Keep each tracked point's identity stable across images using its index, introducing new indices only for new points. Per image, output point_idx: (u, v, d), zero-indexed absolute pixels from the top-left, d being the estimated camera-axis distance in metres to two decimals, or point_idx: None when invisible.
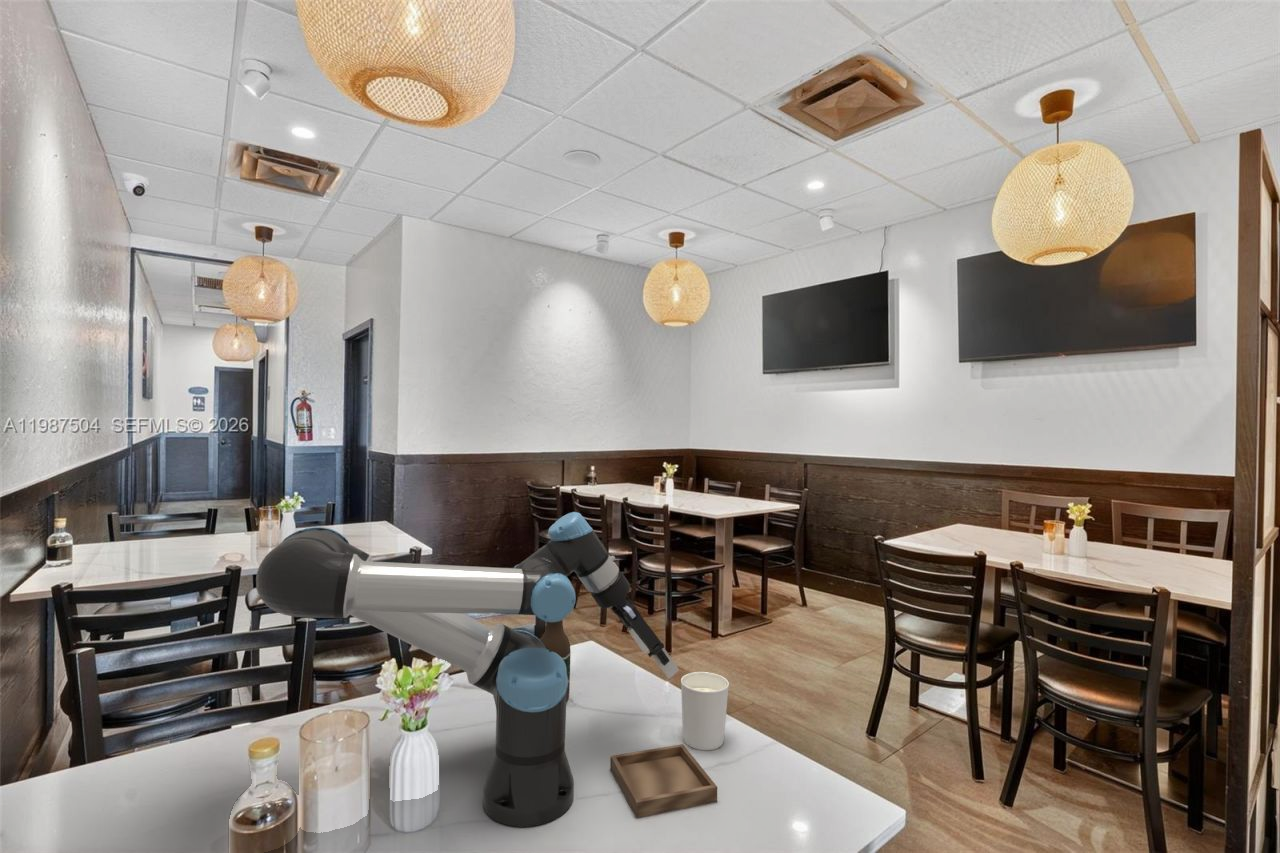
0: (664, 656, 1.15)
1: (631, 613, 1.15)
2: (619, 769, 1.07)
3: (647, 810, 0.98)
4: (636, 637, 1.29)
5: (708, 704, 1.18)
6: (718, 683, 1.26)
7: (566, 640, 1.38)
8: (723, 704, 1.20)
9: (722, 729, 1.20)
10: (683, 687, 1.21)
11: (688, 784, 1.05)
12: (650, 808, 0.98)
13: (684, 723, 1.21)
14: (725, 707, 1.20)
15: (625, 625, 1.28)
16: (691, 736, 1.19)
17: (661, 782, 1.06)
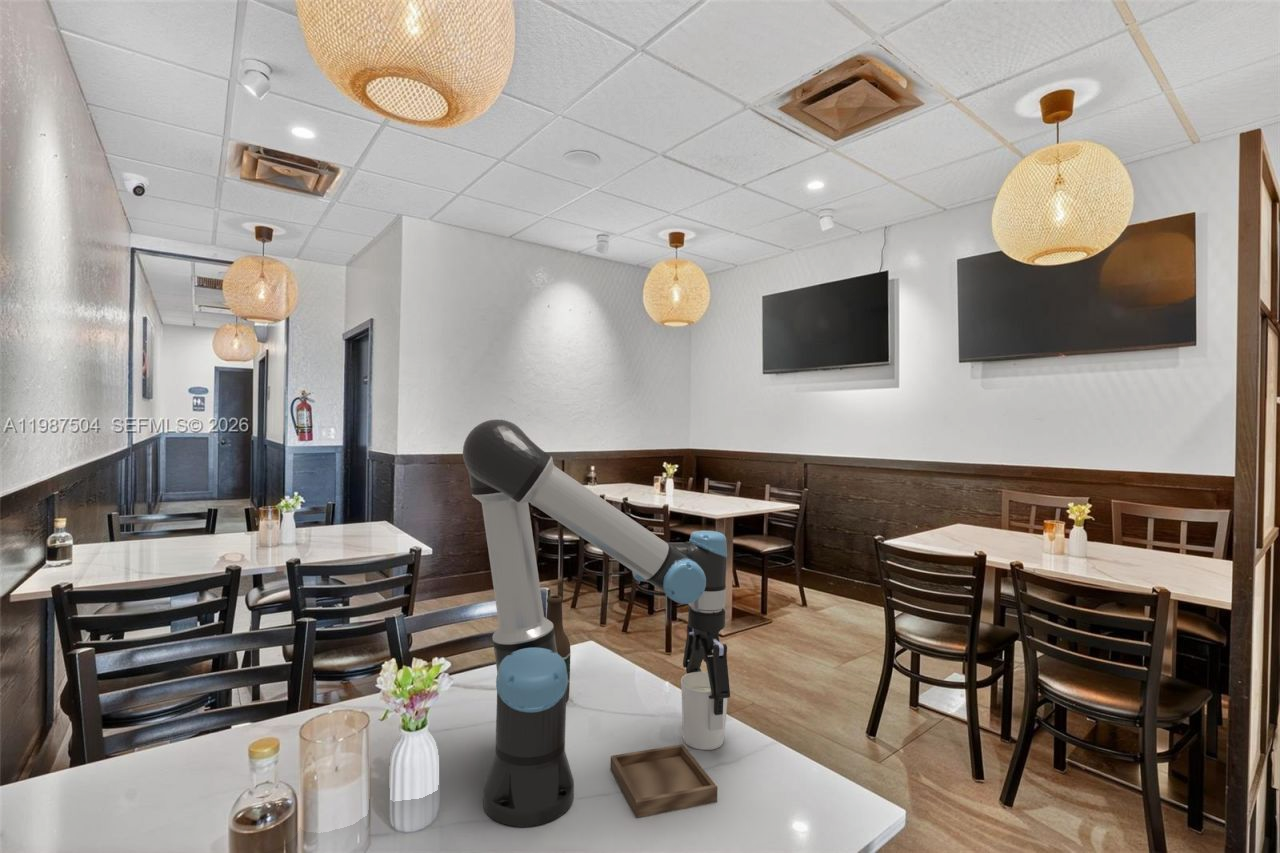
0: (721, 707, 1.16)
1: (721, 650, 1.16)
2: (619, 769, 1.07)
3: (647, 810, 0.98)
4: None
5: (708, 704, 1.18)
6: None
7: (566, 640, 1.38)
8: (723, 704, 1.20)
9: (723, 729, 1.20)
10: (683, 687, 1.21)
11: (688, 784, 1.05)
12: (650, 808, 0.98)
13: (684, 723, 1.21)
14: (725, 707, 1.20)
15: (689, 668, 1.27)
16: (691, 736, 1.19)
17: (661, 782, 1.06)
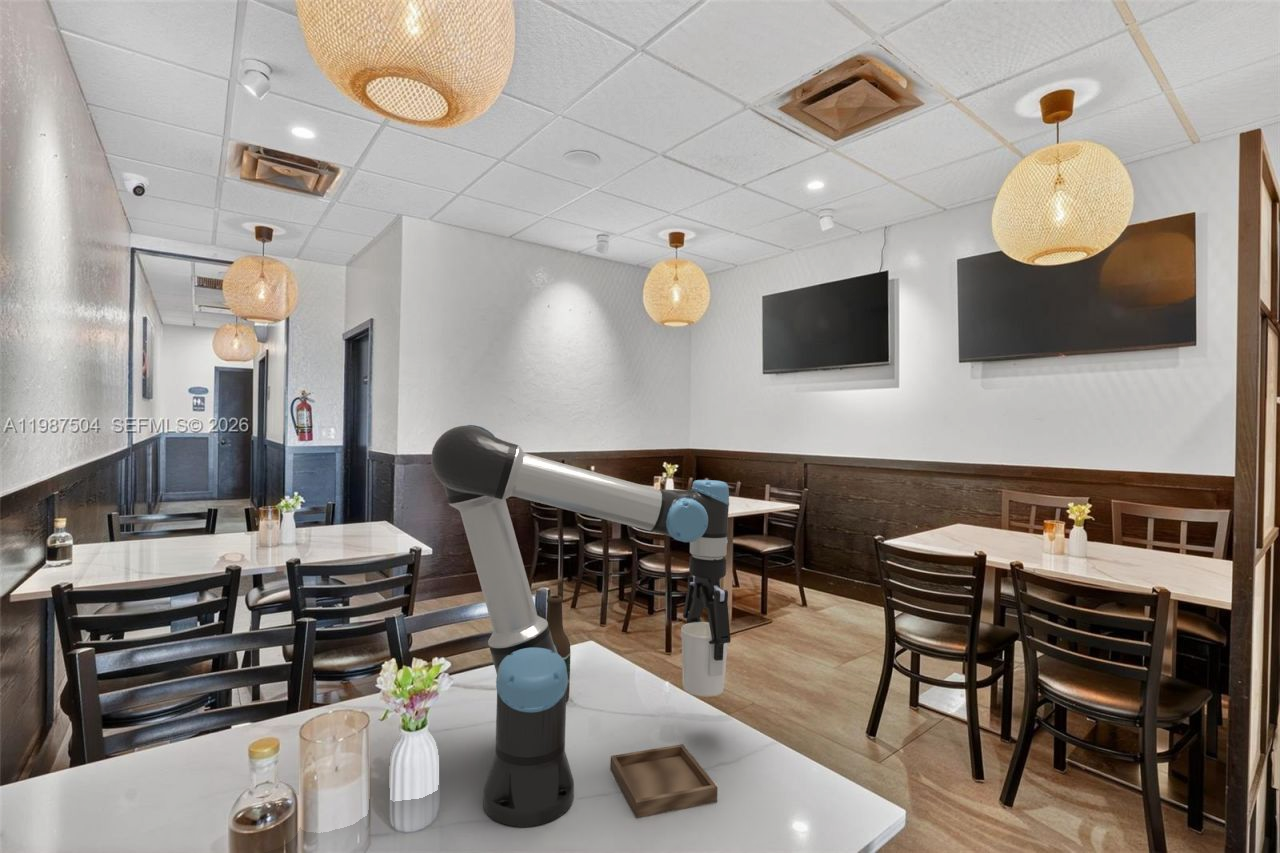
0: (721, 652, 1.16)
1: (722, 595, 1.16)
2: (619, 769, 1.07)
3: (647, 810, 0.98)
4: None
5: (708, 650, 1.18)
6: None
7: (566, 640, 1.38)
8: (723, 651, 1.20)
9: (722, 676, 1.20)
10: (683, 634, 1.21)
11: (688, 784, 1.05)
12: (650, 808, 0.98)
13: (684, 670, 1.21)
14: (725, 654, 1.21)
15: (689, 618, 1.27)
16: (691, 682, 1.19)
17: (661, 782, 1.06)
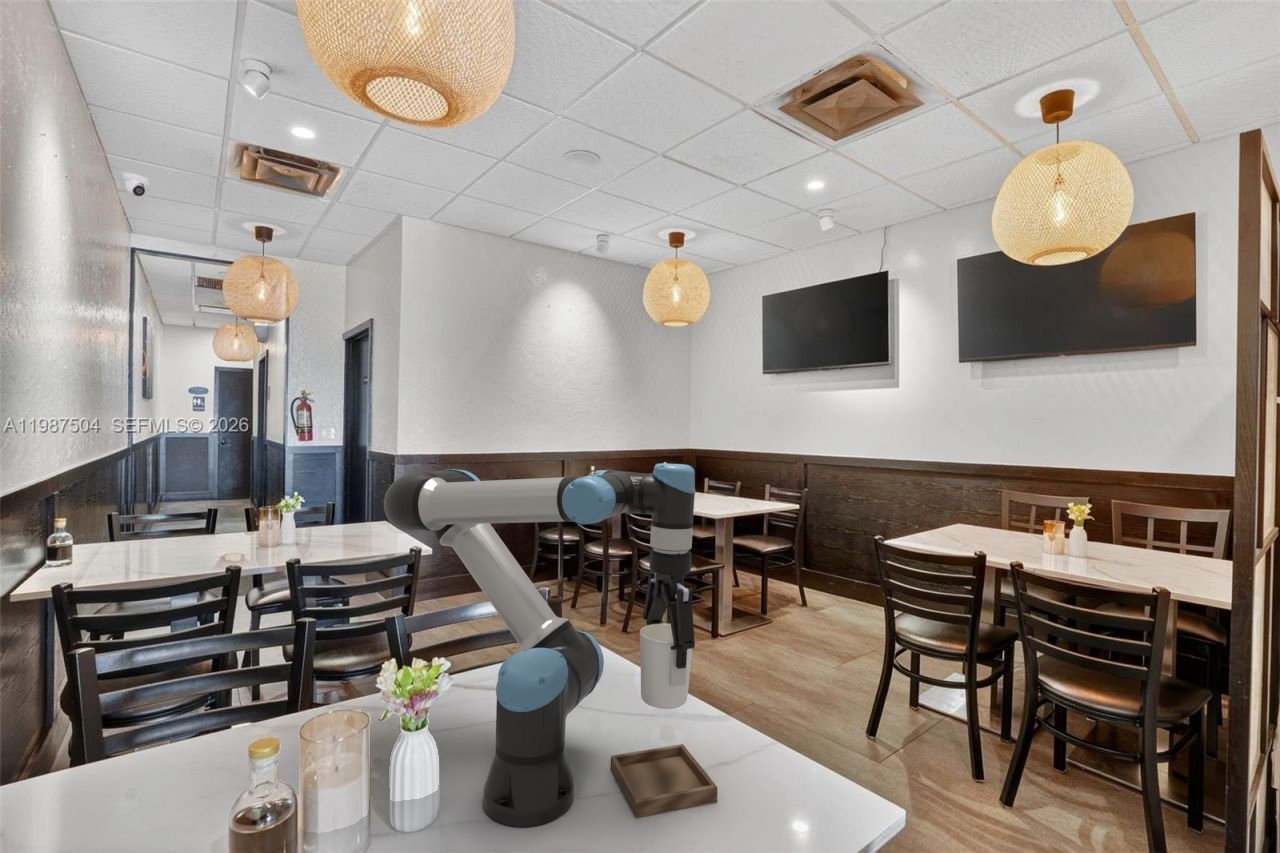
0: (684, 659, 1.02)
1: (686, 595, 1.02)
2: (619, 769, 1.07)
3: (647, 810, 0.98)
4: None
5: (670, 656, 1.04)
6: None
7: None
8: (687, 657, 1.05)
9: (686, 685, 1.06)
10: (642, 638, 1.06)
11: (688, 784, 1.05)
12: (650, 808, 0.98)
13: (642, 679, 1.06)
14: (689, 661, 1.06)
15: (649, 619, 1.13)
16: (650, 693, 1.05)
17: (661, 782, 1.06)
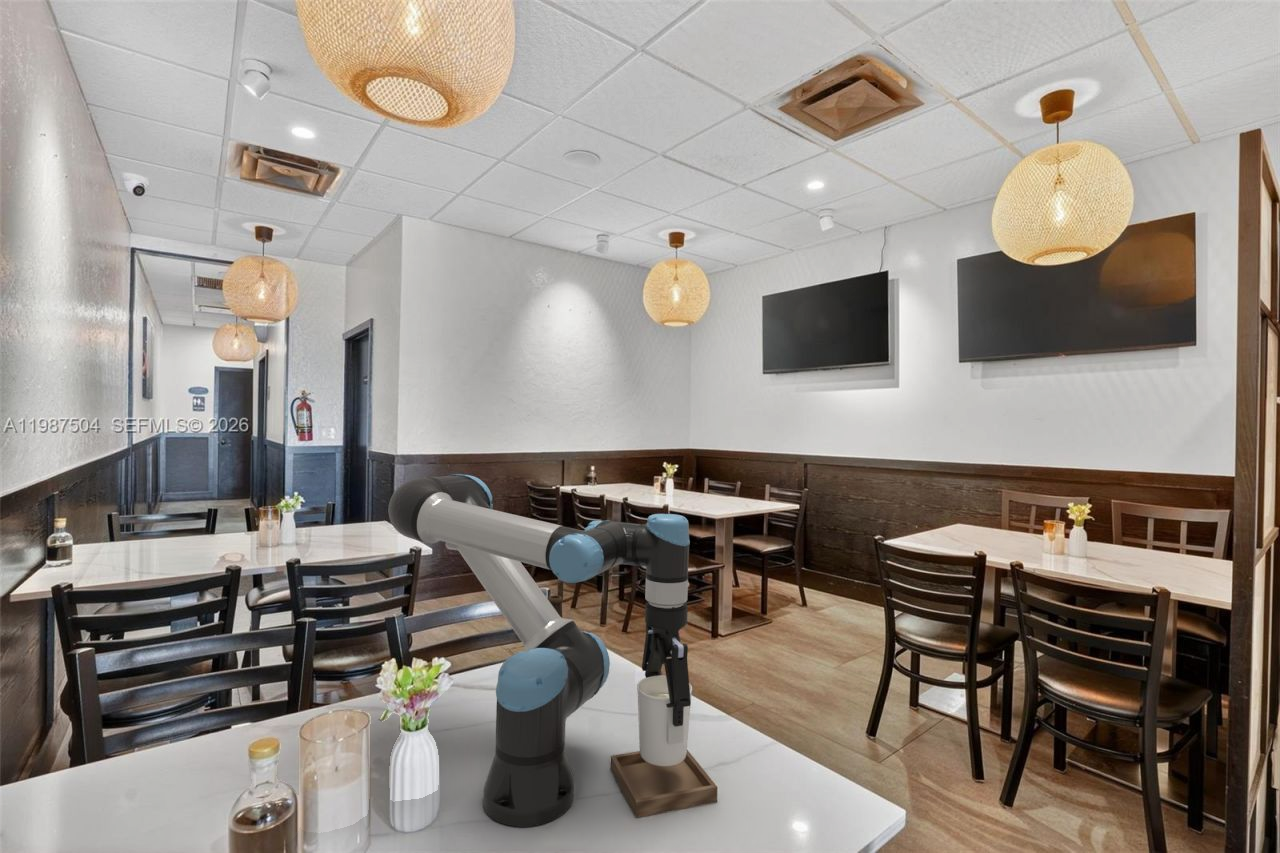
0: (681, 716, 1.00)
1: (680, 651, 1.00)
2: (619, 769, 1.07)
3: (647, 810, 0.98)
4: None
5: None
6: None
7: None
8: (684, 713, 1.04)
9: (684, 741, 1.04)
10: (639, 693, 1.05)
11: (688, 784, 1.05)
12: (650, 808, 0.98)
13: (640, 735, 1.05)
14: (687, 716, 1.04)
15: (648, 671, 1.11)
16: (648, 750, 1.03)
17: (661, 782, 1.06)
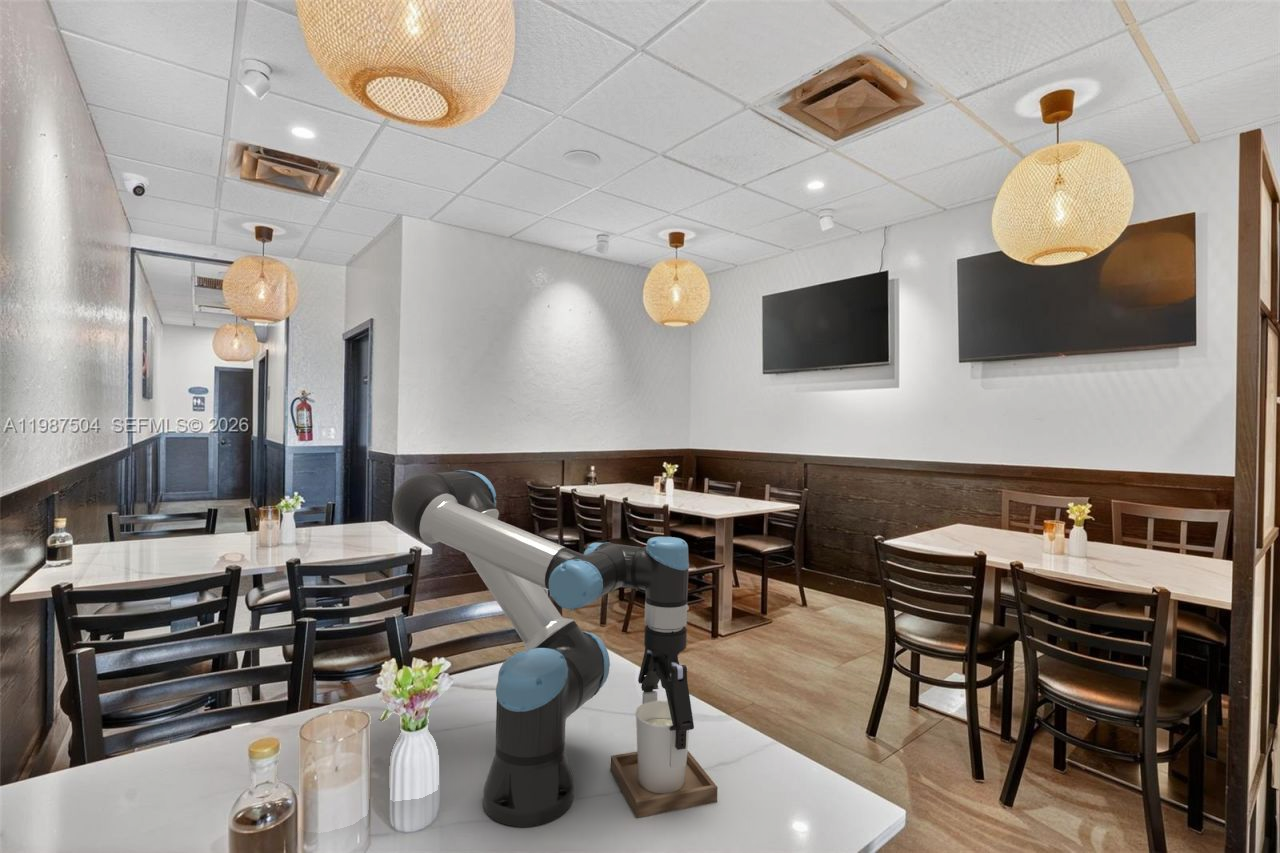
0: (684, 740, 0.99)
1: (680, 672, 1.00)
2: (619, 769, 1.07)
3: (647, 810, 0.98)
4: None
5: (665, 740, 1.02)
6: None
7: None
8: None
9: (683, 769, 1.04)
10: (637, 720, 1.05)
11: (688, 784, 1.05)
12: (650, 808, 0.98)
13: (639, 761, 1.05)
14: None
15: (644, 685, 1.12)
16: (646, 777, 1.03)
17: None
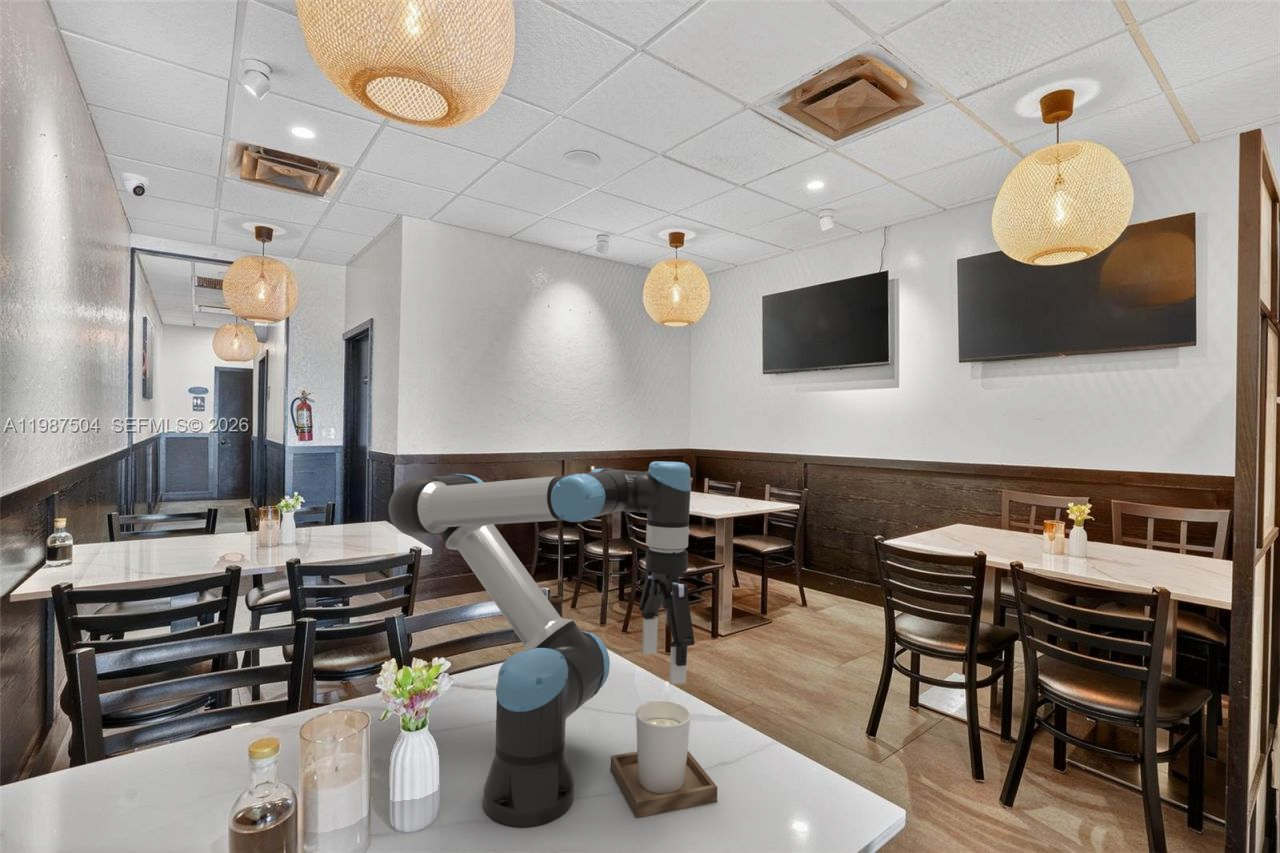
0: (684, 656, 0.99)
1: (681, 590, 1.00)
2: (619, 769, 1.07)
3: (647, 810, 0.98)
4: (647, 631, 1.13)
5: (665, 740, 1.02)
6: (680, 714, 1.10)
7: None
8: (683, 740, 1.04)
9: (683, 769, 1.04)
10: (637, 720, 1.05)
11: (688, 784, 1.05)
12: (650, 808, 0.98)
13: (639, 761, 1.05)
14: (686, 743, 1.04)
15: (645, 612, 1.13)
16: (646, 777, 1.03)
17: None
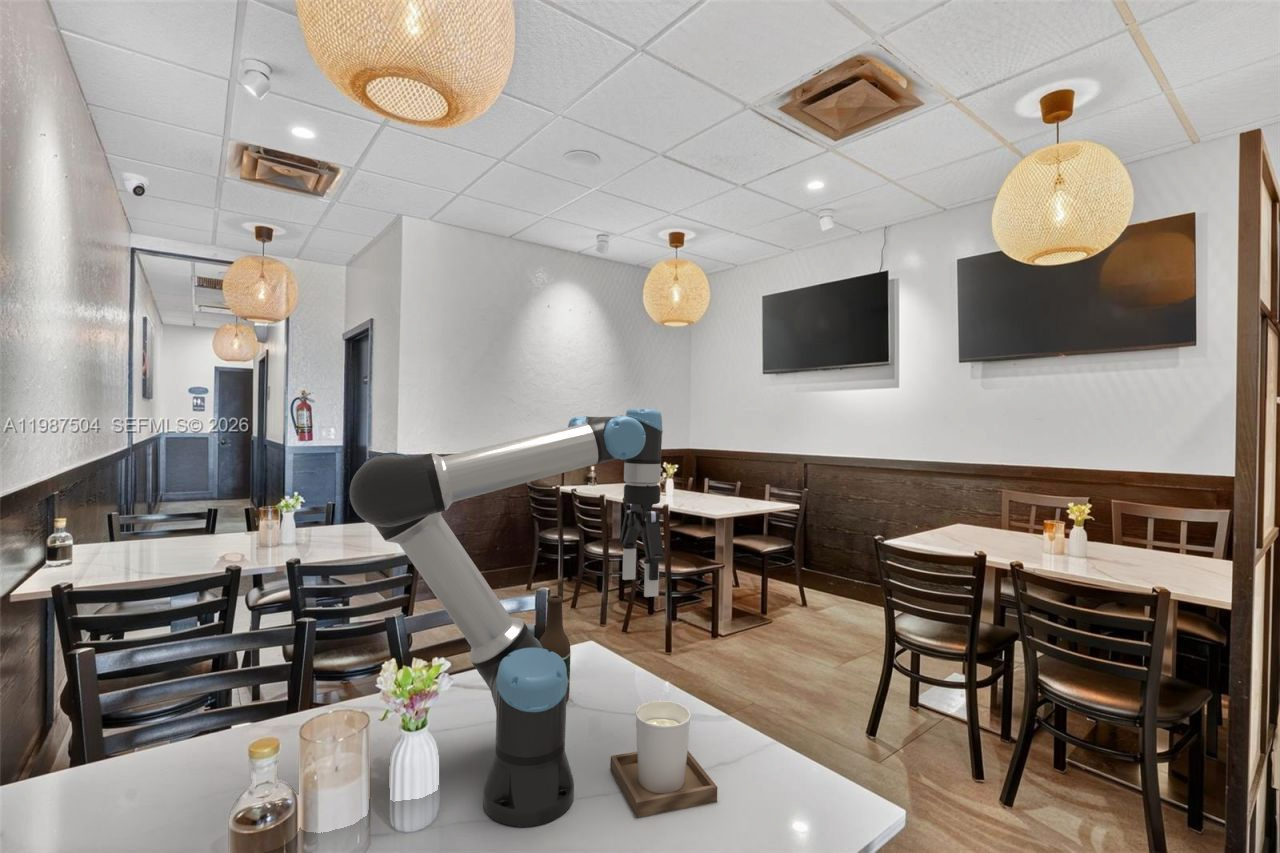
0: (656, 572, 1.15)
1: (653, 515, 1.17)
2: (619, 769, 1.07)
3: (647, 810, 0.98)
4: (626, 560, 1.29)
5: (665, 740, 1.02)
6: (680, 714, 1.10)
7: (566, 640, 1.38)
8: (683, 740, 1.04)
9: (683, 769, 1.04)
10: (637, 720, 1.05)
11: (688, 784, 1.05)
12: (650, 808, 0.98)
13: (639, 761, 1.05)
14: (686, 743, 1.04)
15: (624, 542, 1.29)
16: (646, 777, 1.03)
17: None
